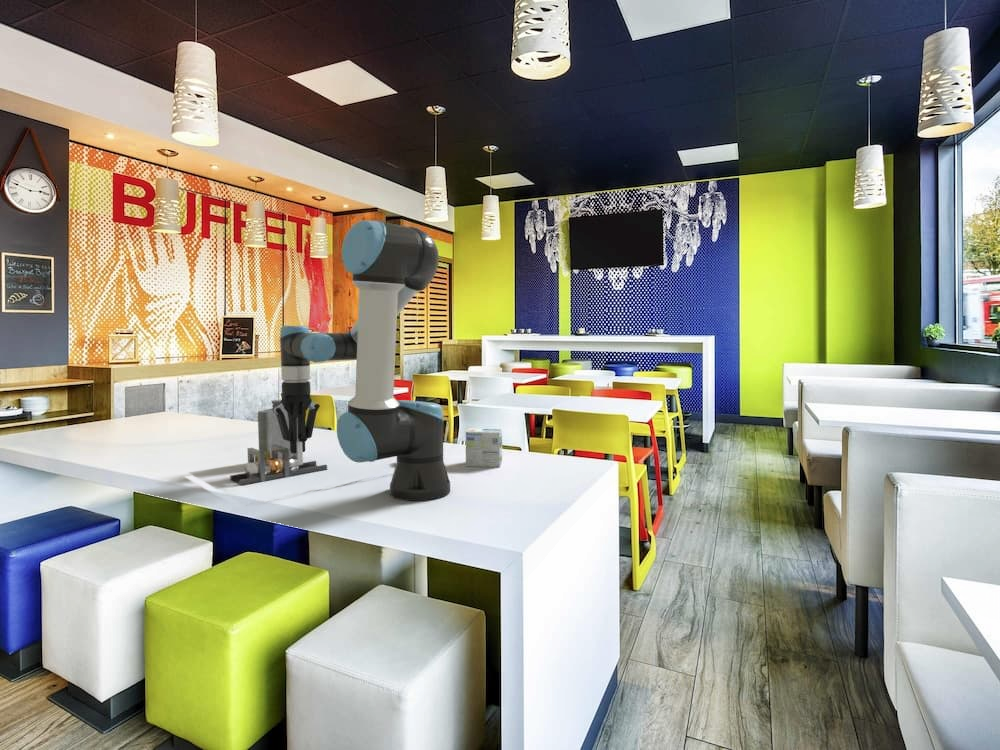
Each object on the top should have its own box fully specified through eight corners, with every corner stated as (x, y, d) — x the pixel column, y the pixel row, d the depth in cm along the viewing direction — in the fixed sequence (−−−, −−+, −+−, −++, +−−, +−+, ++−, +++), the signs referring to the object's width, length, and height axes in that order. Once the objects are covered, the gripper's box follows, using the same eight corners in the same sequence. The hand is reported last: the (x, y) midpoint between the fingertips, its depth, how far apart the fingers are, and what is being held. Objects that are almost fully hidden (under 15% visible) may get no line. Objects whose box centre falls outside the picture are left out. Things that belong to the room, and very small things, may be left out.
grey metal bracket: (276, 471, 158) (275, 444, 158) (289, 476, 152) (288, 448, 152) (248, 476, 153) (247, 448, 152) (260, 482, 147) (260, 453, 146)
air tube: (293, 471, 159) (290, 455, 160) (299, 470, 156) (297, 453, 157) (246, 480, 150) (243, 462, 151) (252, 479, 147) (250, 461, 148)
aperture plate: (269, 475, 158) (268, 450, 157) (270, 475, 157) (269, 451, 157) (255, 477, 155) (254, 452, 154) (256, 478, 154) (255, 453, 154)
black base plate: (314, 467, 166) (313, 460, 166) (328, 472, 160) (328, 465, 160) (229, 483, 149) (229, 475, 149) (241, 489, 143) (241, 481, 143)
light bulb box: (502, 462, 174) (502, 428, 174) (500, 467, 168) (500, 432, 167) (468, 461, 175) (468, 427, 175) (465, 466, 169) (465, 431, 168)
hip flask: (265, 473, 160) (263, 403, 158) (254, 471, 161) (252, 402, 160) (304, 461, 175) (302, 397, 173) (293, 460, 176) (292, 396, 175)
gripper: (311, 378, 164) (313, 458, 166) (267, 381, 154) (269, 465, 156) (324, 380, 158) (326, 462, 160) (279, 383, 149) (281, 470, 151)
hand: (298, 464), depth 158 cm, fingers closed
